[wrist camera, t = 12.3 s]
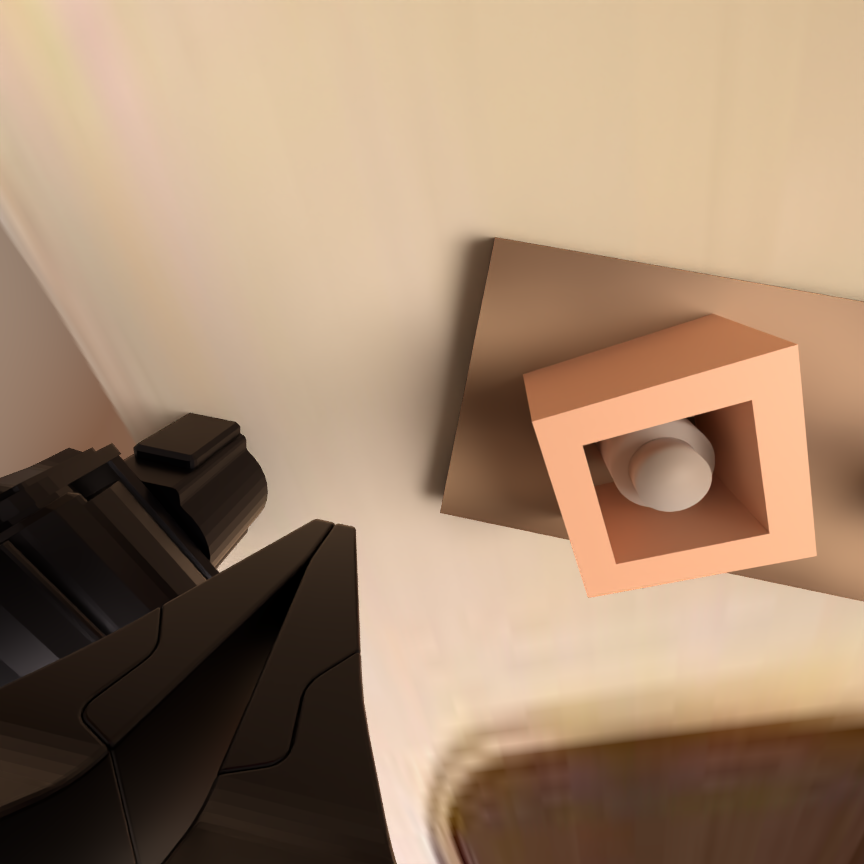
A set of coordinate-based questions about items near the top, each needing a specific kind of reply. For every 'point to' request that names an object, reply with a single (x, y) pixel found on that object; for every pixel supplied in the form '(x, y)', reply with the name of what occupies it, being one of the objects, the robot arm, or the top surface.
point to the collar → (714, 417)
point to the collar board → (625, 310)
